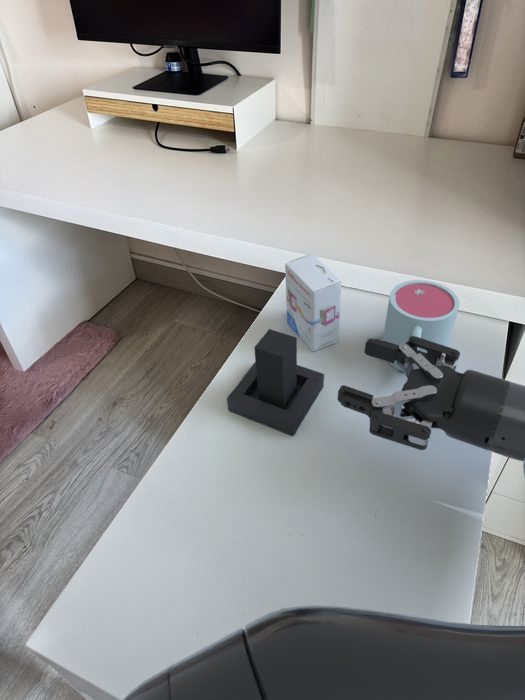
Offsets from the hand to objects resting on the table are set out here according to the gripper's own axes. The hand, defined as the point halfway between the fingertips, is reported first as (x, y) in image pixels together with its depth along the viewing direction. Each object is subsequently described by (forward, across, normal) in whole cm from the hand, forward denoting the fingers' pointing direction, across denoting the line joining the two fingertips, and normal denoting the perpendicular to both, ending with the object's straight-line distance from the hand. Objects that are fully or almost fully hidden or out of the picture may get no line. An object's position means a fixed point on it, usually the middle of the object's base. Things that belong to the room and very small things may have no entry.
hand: (352, 368), depth 58 cm
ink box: (+12, -16, +12) cm, 23 cm away
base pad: (+11, -1, +11) cm, 16 cm away
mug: (-4, -16, +12) cm, 20 cm away
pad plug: (+11, -1, +11) cm, 15 cm away
